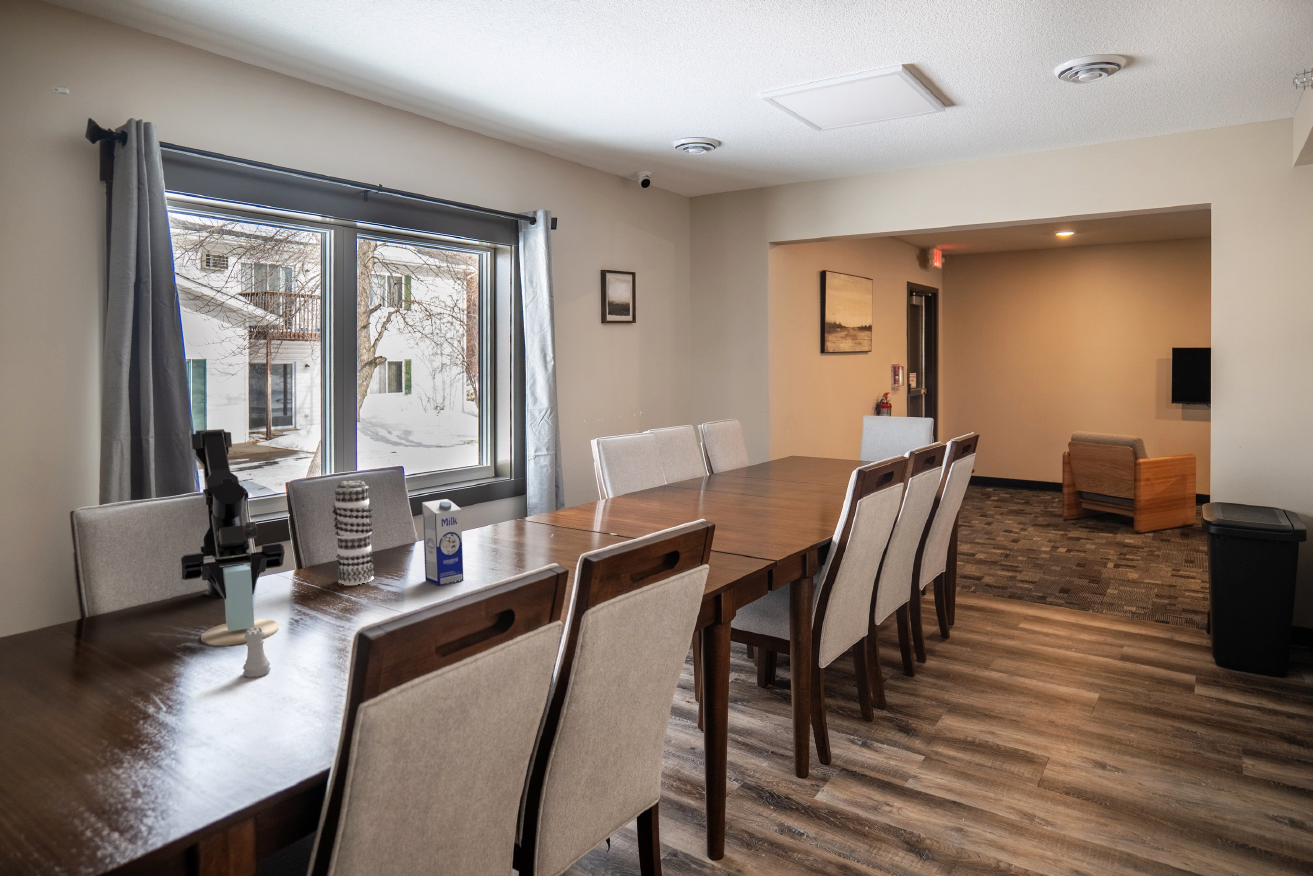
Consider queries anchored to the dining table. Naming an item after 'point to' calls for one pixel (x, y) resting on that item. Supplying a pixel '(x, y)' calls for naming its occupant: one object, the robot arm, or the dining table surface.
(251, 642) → the rook chess piece
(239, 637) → the board
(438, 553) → the milk carton
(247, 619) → the teal post
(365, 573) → the patterned cylinder tower
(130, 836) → the dining table surface
